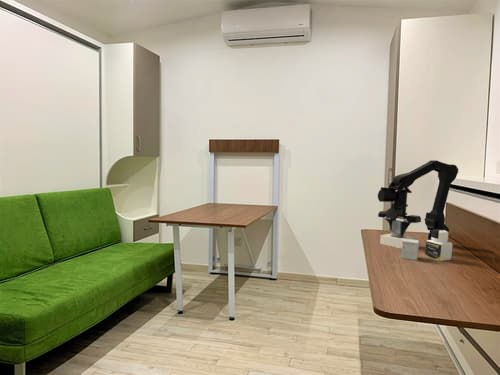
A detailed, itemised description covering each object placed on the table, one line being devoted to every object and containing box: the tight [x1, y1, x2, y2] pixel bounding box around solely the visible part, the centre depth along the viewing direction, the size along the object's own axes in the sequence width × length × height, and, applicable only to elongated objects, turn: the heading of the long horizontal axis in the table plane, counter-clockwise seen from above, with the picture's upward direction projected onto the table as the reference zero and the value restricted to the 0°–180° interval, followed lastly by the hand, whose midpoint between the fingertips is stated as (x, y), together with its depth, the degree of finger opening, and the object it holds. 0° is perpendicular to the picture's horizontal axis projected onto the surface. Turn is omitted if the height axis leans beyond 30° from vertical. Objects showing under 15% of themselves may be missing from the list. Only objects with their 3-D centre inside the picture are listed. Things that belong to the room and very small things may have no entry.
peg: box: [390, 219, 405, 238], centre depth 167 cm, size 4×4×10 cm
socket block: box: [379, 232, 415, 250], centre depth 167 cm, size 11×11×4 cm
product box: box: [400, 238, 420, 261], centre depth 145 cm, size 6×6×7 cm
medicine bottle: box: [424, 229, 453, 262], centre depth 145 cm, size 7×7×12 cm
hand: (397, 234), depth 167 cm, fingers open, 4 cm apart
